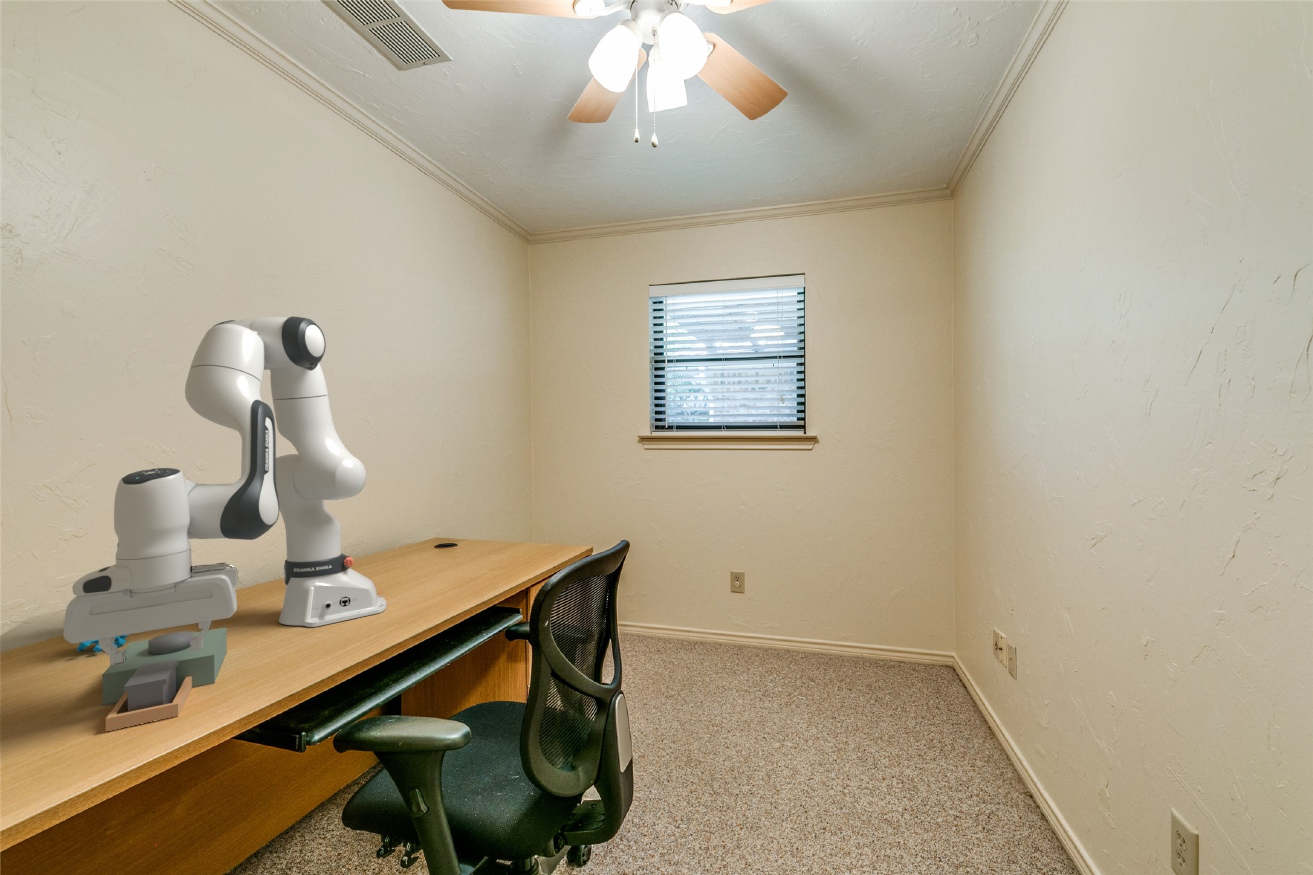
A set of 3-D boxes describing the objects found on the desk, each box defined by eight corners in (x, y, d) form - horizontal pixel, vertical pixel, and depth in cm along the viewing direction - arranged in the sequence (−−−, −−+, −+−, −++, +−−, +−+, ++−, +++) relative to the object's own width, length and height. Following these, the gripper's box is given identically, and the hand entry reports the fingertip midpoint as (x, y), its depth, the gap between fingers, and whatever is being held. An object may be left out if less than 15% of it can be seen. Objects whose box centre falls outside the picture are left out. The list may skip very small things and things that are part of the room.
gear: (90, 652, 103) (60, 614, 105) (66, 675, 103) (36, 637, 104) (146, 638, 114) (118, 604, 115) (124, 659, 114) (96, 624, 115)
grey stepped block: (179, 692, 91) (178, 658, 91) (166, 715, 83) (166, 678, 83) (140, 700, 88) (140, 665, 88) (124, 724, 80) (123, 686, 80)
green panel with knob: (226, 652, 107) (226, 617, 107) (203, 710, 84) (203, 666, 84) (130, 669, 100) (130, 631, 100) (76, 738, 77) (76, 690, 77)
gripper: (239, 556, 94) (242, 634, 95) (72, 576, 83) (76, 664, 83) (235, 564, 89) (238, 646, 89) (56, 586, 78) (61, 680, 78)
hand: (158, 655), depth 86 cm, fingers open, 8 cm apart
